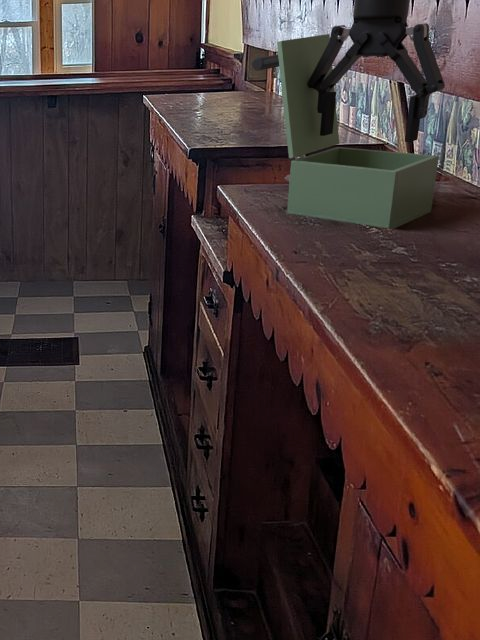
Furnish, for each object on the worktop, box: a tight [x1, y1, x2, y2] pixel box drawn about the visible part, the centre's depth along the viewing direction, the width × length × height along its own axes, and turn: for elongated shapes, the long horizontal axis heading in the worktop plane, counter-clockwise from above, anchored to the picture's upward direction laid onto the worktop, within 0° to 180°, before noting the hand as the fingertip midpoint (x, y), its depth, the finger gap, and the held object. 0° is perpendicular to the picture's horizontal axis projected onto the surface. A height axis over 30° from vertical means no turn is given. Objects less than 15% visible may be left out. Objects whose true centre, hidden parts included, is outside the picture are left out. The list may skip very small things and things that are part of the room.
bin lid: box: [251, 33, 340, 159], centre depth 142 cm, size 18×15×8 cm
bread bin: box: [286, 146, 440, 230], centre depth 137 cm, size 17×15×9 cm
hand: (367, 137), depth 134 cm, fingers open, 13 cm apart
